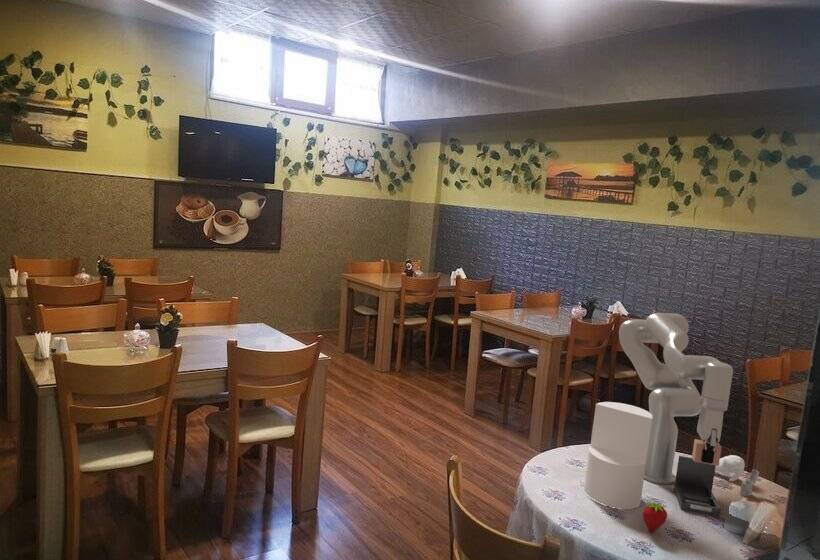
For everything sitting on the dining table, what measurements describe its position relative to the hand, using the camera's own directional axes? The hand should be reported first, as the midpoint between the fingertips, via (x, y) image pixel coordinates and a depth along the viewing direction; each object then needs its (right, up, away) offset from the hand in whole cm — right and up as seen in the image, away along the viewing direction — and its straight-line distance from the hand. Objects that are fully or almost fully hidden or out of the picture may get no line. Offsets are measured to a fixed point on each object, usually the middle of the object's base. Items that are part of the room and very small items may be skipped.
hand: (705, 459), depth 188 cm
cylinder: (-27, -13, +5) cm, 31 cm away
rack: (-1, -15, +5) cm, 16 cm away
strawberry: (-23, -16, -16) cm, 32 cm away
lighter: (+22, -16, +16) cm, 32 cm away
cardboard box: (0, -1, 0) cm, 1 cm away
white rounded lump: (+20, -15, +29) cm, 38 cm away
